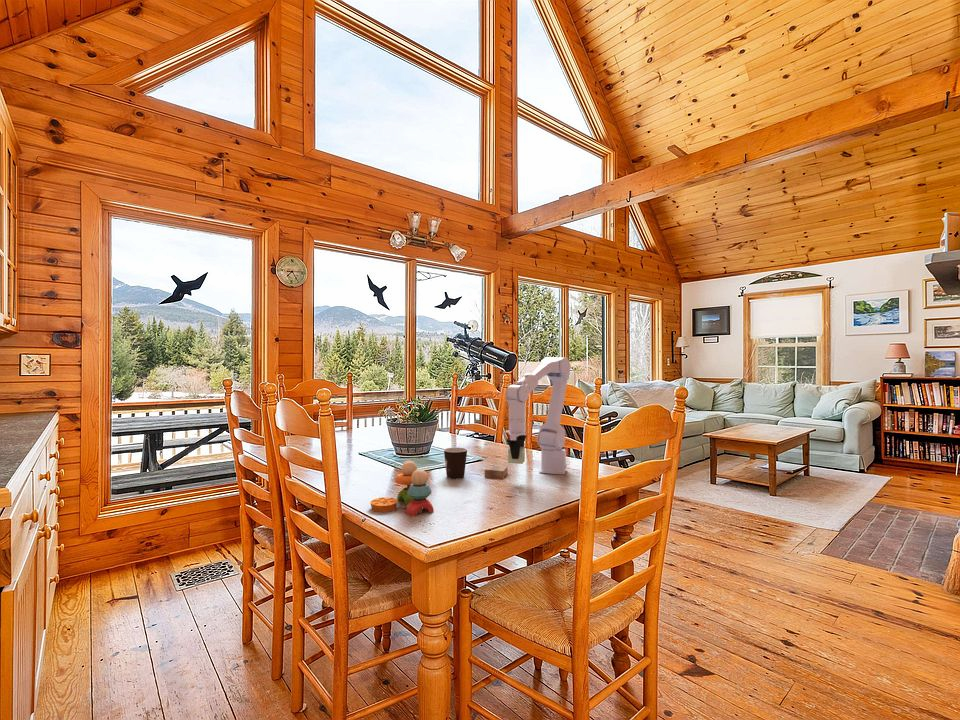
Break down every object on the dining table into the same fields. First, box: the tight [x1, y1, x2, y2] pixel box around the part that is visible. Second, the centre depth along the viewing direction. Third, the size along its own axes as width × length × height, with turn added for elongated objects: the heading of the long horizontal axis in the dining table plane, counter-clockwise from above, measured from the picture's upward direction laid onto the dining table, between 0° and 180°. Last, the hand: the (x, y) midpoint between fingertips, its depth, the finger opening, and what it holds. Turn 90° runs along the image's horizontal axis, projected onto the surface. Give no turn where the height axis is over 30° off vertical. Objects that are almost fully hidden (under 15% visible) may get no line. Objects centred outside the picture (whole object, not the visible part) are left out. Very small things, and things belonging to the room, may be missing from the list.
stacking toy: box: [369, 460, 435, 517], centre depth 143 cm, size 18×17×12 cm
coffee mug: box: [443, 446, 468, 480], centre depth 180 cm, size 12×9×10 cm
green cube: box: [507, 446, 526, 465], centre depth 172 cm, size 5×5×5 cm
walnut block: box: [484, 464, 509, 479], centre depth 181 cm, size 7×7×3 cm
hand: (516, 457), depth 172 cm, fingers closed on green cube, 5 cm apart
